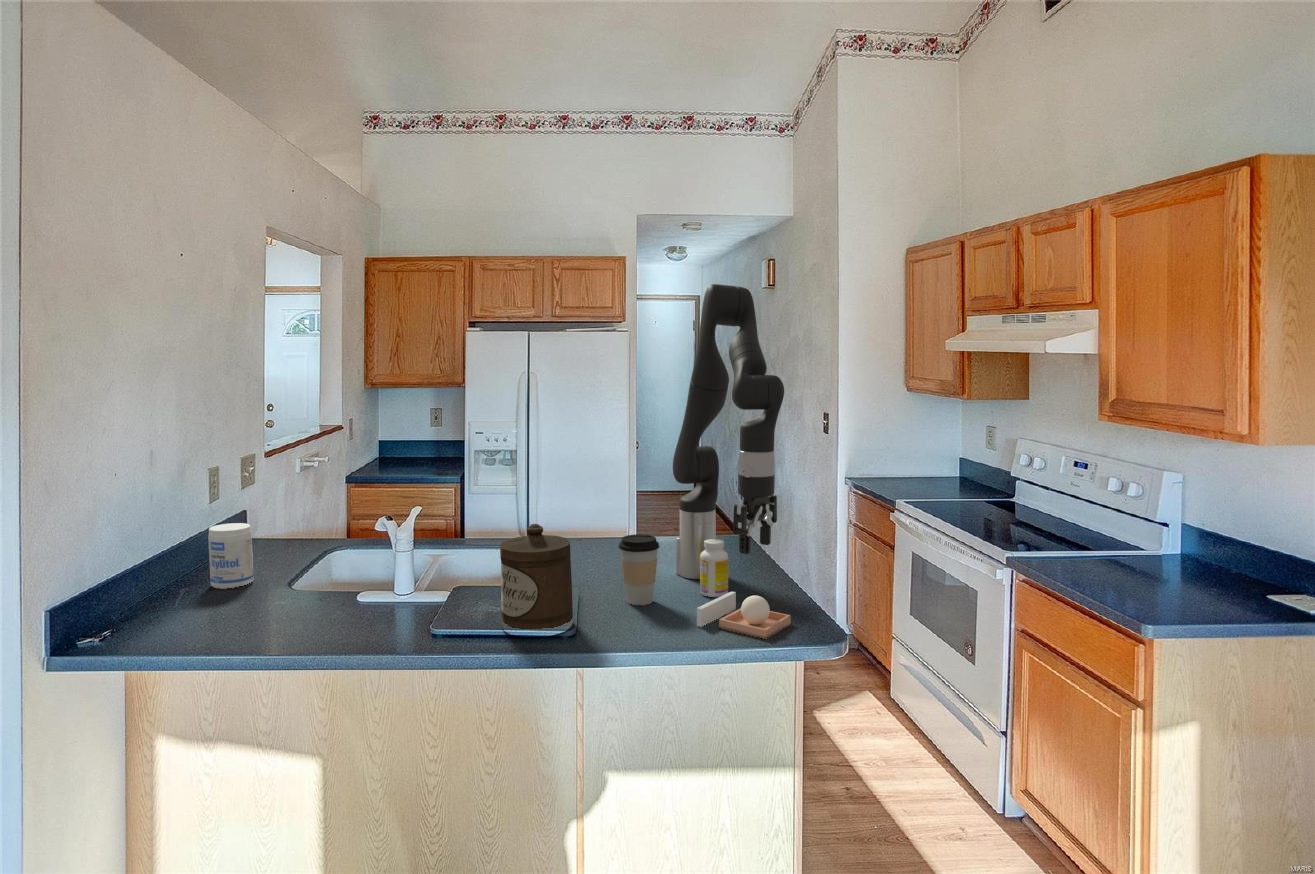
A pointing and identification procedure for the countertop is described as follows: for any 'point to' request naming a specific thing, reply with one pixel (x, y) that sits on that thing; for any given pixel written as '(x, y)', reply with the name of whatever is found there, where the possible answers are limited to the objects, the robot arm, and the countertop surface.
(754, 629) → the dish
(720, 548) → the supplement bottle
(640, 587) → the coffee cup
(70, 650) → the countertop surface
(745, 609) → the ball
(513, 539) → the wooden container
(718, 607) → the wall
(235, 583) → the supplement tub
